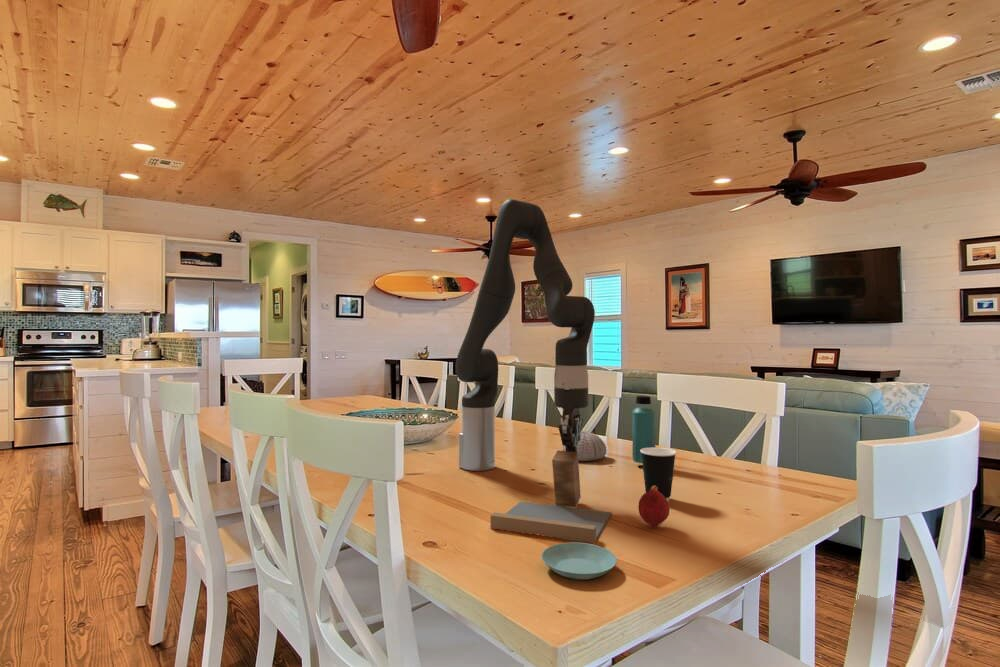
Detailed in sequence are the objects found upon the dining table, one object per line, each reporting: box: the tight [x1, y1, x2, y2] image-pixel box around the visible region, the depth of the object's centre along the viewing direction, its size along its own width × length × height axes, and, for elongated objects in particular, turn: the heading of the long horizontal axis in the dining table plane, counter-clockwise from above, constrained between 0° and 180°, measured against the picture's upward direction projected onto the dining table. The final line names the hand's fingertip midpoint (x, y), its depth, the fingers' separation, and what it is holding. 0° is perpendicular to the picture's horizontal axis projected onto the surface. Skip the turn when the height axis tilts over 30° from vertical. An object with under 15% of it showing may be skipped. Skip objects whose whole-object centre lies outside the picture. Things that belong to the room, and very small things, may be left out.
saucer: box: [540, 541, 618, 581], centre depth 87 cm, size 12×12×2 cm
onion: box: [637, 486, 671, 528], centre depth 106 cm, size 6×6×8 cm
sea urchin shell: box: [562, 431, 608, 462], centre depth 165 cm, size 13×14×8 cm
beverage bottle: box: [631, 395, 657, 464], centre depth 155 cm, size 6×7×20 cm
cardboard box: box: [551, 449, 582, 508], centre depth 119 cm, size 4×4×11 cm
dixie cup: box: [640, 447, 677, 502], centre depth 124 cm, size 8×8×11 cm
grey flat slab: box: [490, 501, 612, 544], centre depth 109 cm, size 20×17×2 cm
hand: (571, 463), depth 121 cm, fingers closed
